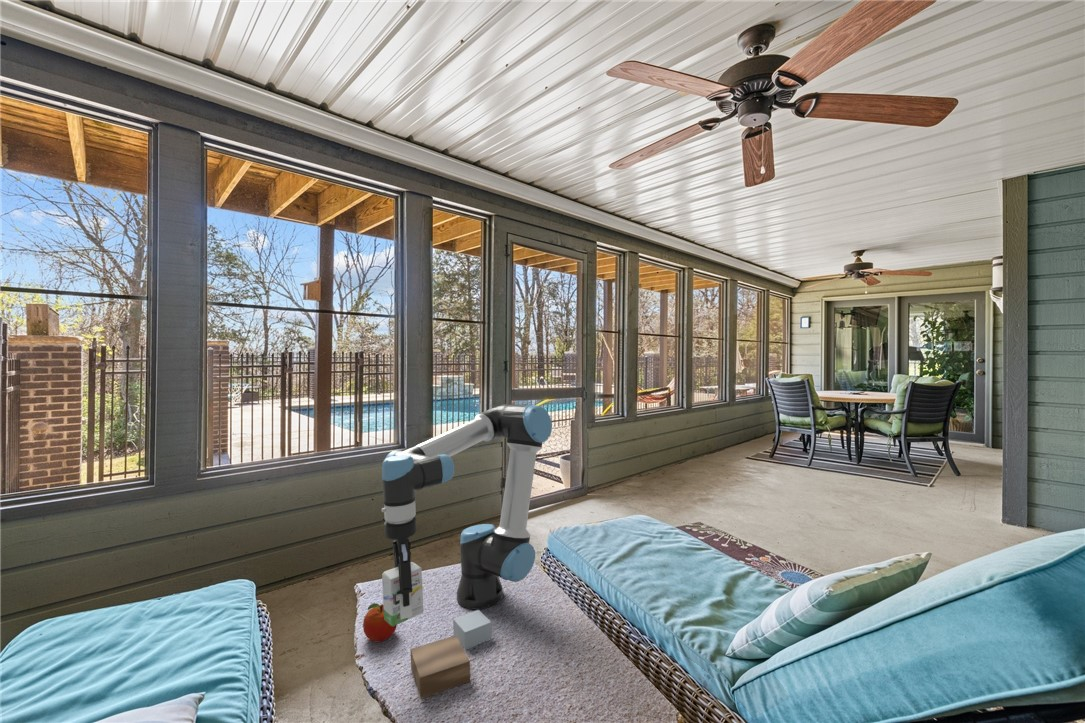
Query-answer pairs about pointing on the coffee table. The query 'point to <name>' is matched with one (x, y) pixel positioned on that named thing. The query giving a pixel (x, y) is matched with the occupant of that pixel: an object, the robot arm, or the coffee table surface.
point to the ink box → (391, 597)
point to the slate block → (472, 629)
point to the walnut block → (439, 666)
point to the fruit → (377, 624)
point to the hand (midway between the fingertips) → (404, 610)
